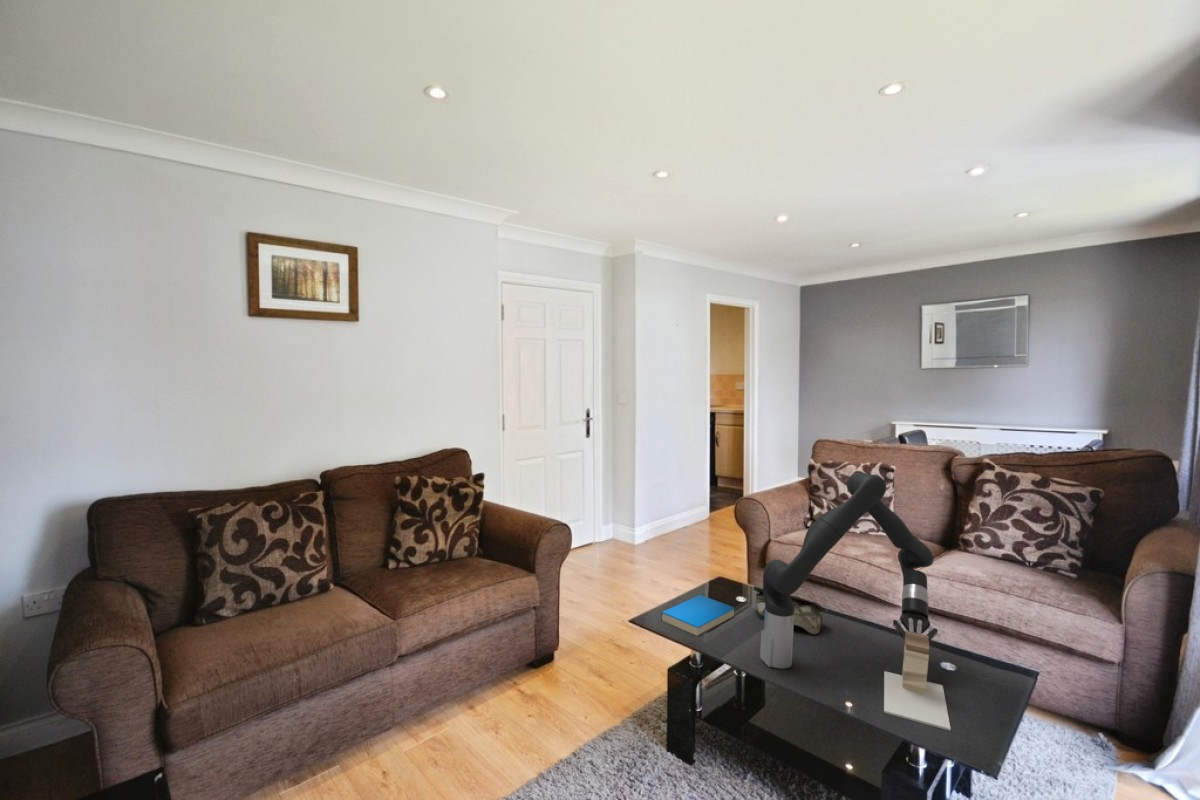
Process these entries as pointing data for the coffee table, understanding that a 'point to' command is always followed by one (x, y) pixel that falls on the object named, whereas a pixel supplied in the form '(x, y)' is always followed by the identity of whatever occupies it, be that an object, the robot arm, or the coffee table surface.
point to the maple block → (915, 662)
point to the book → (698, 614)
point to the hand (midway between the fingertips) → (914, 654)
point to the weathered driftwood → (798, 612)
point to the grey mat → (915, 702)
